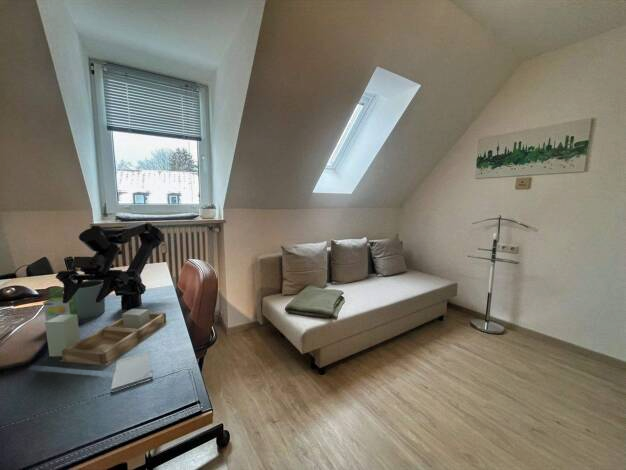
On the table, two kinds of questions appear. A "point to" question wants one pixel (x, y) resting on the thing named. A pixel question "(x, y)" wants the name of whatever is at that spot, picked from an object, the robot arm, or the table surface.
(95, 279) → the robot arm
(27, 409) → the table surface
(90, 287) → the dark green round bin
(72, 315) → the green block
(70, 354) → the oak housing tray
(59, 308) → the ink box
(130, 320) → the grey jaw block
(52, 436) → the table surface
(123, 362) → the hard drive
